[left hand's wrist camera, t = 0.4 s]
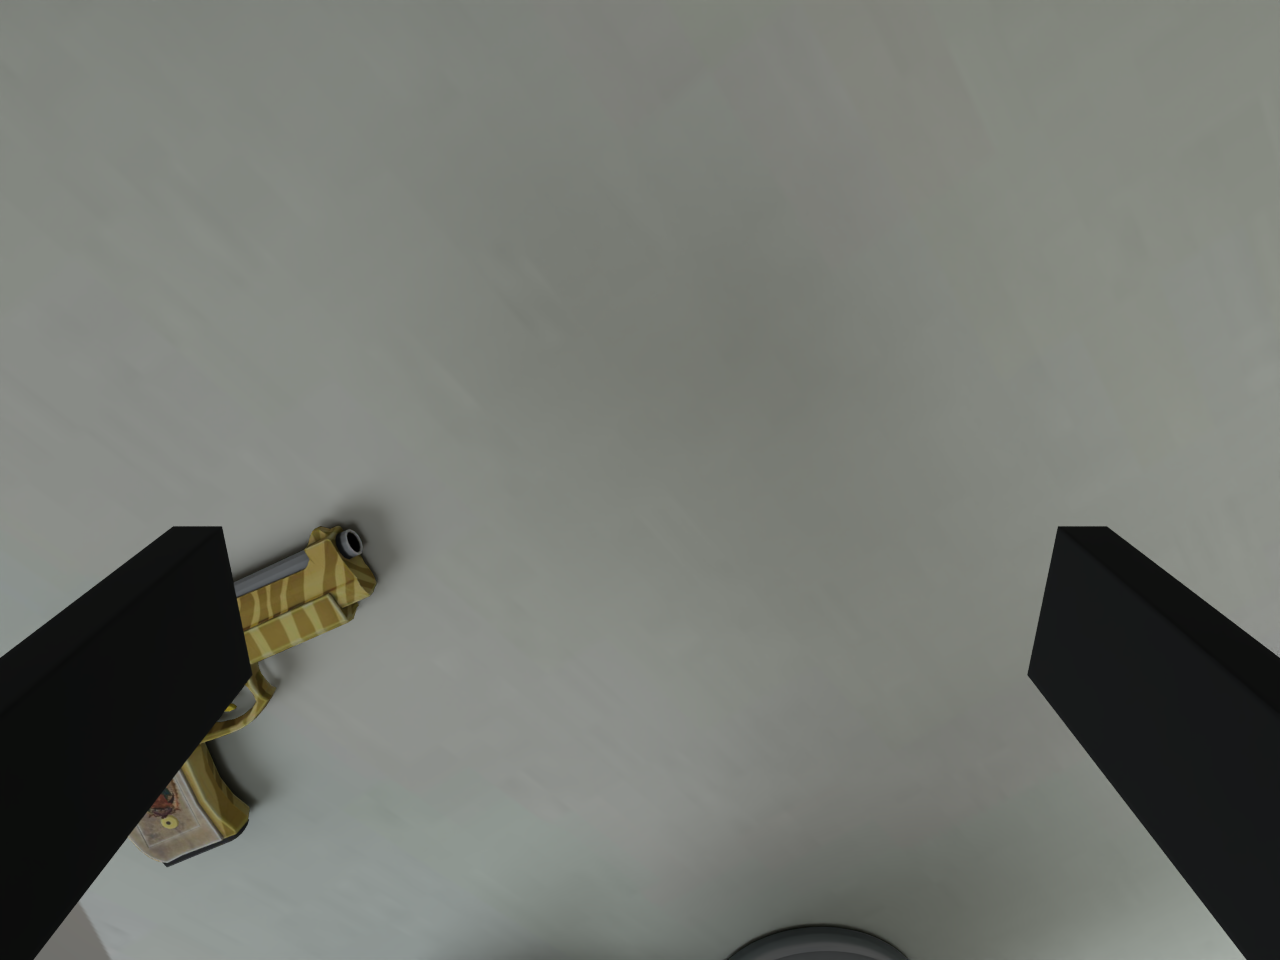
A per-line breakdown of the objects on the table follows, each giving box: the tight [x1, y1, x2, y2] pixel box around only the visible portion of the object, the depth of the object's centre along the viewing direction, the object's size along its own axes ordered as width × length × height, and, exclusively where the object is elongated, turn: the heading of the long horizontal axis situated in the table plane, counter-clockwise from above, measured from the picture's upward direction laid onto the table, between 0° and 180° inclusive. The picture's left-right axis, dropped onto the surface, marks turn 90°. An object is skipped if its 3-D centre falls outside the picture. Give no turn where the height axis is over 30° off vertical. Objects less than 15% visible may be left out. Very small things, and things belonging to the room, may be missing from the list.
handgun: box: [128, 526, 377, 867], centre depth 45 cm, size 2×23×15 cm
